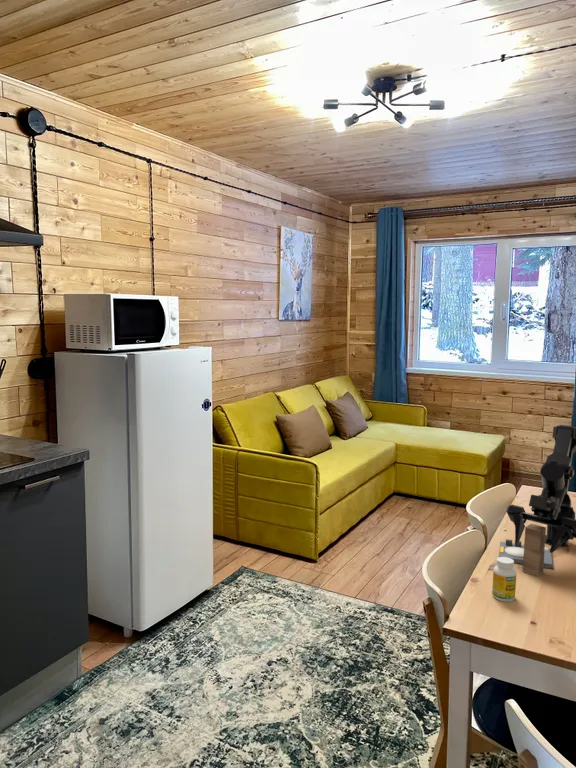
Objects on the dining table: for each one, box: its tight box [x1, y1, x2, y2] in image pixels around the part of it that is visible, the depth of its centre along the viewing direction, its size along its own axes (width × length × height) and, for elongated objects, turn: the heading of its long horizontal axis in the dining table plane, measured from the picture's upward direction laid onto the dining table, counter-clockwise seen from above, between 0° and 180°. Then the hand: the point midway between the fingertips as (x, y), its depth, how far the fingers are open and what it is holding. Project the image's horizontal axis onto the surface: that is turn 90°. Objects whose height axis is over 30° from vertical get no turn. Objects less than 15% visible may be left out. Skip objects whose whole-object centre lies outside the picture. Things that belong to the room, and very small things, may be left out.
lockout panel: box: [498, 538, 553, 570], centre depth 167 cm, size 12×14×3 cm
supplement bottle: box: [491, 556, 517, 603], centre depth 142 cm, size 5×5×10 cm
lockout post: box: [522, 523, 547, 577], centre depth 157 cm, size 4×4×12 cm
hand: (533, 547), depth 156 cm, fingers open, 9 cm apart
